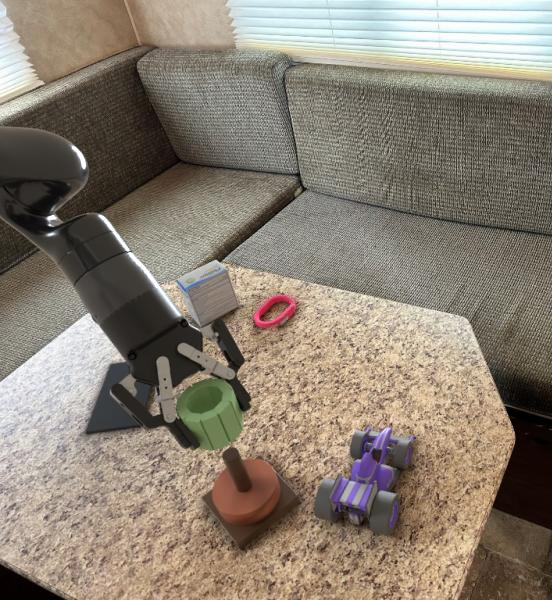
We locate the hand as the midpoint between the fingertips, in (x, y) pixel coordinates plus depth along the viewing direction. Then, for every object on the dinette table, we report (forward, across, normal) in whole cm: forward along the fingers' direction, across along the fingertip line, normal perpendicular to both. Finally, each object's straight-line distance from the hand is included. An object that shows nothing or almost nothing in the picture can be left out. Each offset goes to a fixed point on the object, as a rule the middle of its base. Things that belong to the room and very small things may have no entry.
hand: (222, 428), depth 67 cm
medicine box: (-15, +19, +39) cm, 46 cm away
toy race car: (+18, +12, +6) cm, 23 cm away
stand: (+11, 0, +13) cm, 17 cm away
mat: (-11, -1, +35) cm, 37 cm away
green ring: (0, 0, +2) cm, 2 cm away
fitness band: (-8, +26, +32) cm, 42 cm away
